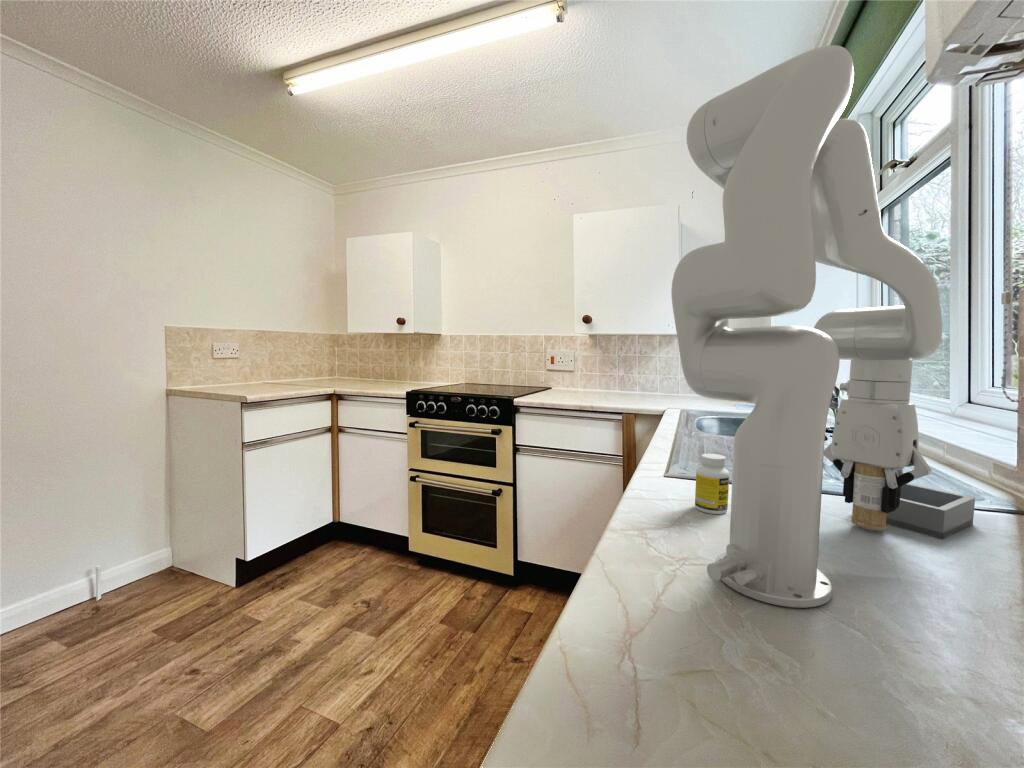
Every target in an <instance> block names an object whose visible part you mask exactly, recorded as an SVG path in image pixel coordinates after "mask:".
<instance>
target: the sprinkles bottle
mask: <svg viewBox="0 0 1024 768" xmlns="http://www.w3.org/2000/svg"><path fill="white" fill-rule="evenodd" d="M886 486H887V479H886V473H885V468H881V467H876V466H870V465H865V464H860V463H855V471H854V487H853V502H852V510H853V513H851V514H852V515H851V519H850V522H851V523H852V524H853V525H854V526H856V527H859V528H862V529H866V530H872V531H883V530H886V529H887V524H886V513H884V512H882V511H881V504H882V491H883V487H886Z"/></svg>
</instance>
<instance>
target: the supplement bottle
mask: <svg viewBox="0 0 1024 768" xmlns="http://www.w3.org/2000/svg"><path fill="white" fill-rule="evenodd" d="M726 457H727V456H724V455H723V454H718V453H703V454H701V457H700V463H701V465H699V466H698V467H697V468H696V473H695V493H694V494H695V495H694V507H695V508H696V509H697V510H698V511H700V512H703V513H705V514H711V515H722V514H726V512H728V509H729V508H728V505H729V492H730V491H729V489H730V472H729V470H728V469H726V468H725V466H726V465H727V464H726V463H727V461H726V460H727V458H726Z"/></svg>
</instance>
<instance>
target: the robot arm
mask: <svg viewBox="0 0 1024 768" xmlns="http://www.w3.org/2000/svg"><path fill="white" fill-rule="evenodd" d="M854 76H855V71H854V62H853V57H852V55H851V53H850V52H849V51H848V49H846V48H845V47H843V46H841V45H825V46H820V47H816V48H813V49H811V50H808V51H805V52H803V53H801V54H798V55H796V56H793V57H792V58H789V59H787V60H785V61H783V62H782V63H779V64H776V65H775V66H773V67H771V68H768V69H767V70H765V71H763V72H761V73H759V74H757V75H756V76H754V77H752V78H751V79H749V80H747V81H745V82H743V83H740V84H739V85H737V86H735V87H732V88H731V89H728V90H727V91H725V92H723V93H721V94H719V95H717V96H715V97H713V98H711V99H710V100H708V101H707V102H705V103H703V104H702V105H700V106H699V107H698V109H696V110H695V112H694V113H693V115H692V116H691V118H690V120H689V122H688V125H687V129H686V130H687V131H686V145H687V149H688V152H689V154H690V157H691V159H692V161H693V162H694V164H695V165H696V167H697V168H698V169H699V171H701V172H702V173H703V174H704V175H705V176H706V177H708V178H709V179H710V180H712V181H713V182H714V183H716V184H717V185H718V186H719V187H721V189H723V193H722V213H723V225H724V240H723V242H718V243H713V244H709V245H705V246H700V247H697V248H695V249H693V250H691V251H689V252H687V253H685V255H684V256H683V257H682V258H681V259H680V260H679V261H678V264H677V265H676V268H675V269H674V270H675V271H674V273H673V277H672V281H671V289H670V291H671V294H670V295H671V302H672V303H671V305H672V312H673V320H674V324H675V325H674V326H675V333H676V337H677V344H678V349H679V350H678V351H679V358H680V364H681V368H682V373H683V377H684V380H685V382H686V383H687V386H688V387H689V388H690V389H691V390H692V392H693V393H695V394H697V395H698V396H701V397H703V398H708V399H713V400H714V399H715V400H722V401H723V400H724V401H731V402H732V401H733V402H741V403H746V404H753V405H754V408H752V411H751V412H750V413H749V414H748V415H747V417H746V418H745V419H744V420H743V421H742V423H741V424H740V425H739V426H738V428H737V430H736V432H735V435H734V438H733V445H732V472H731V473H732V475H731V498H730V502H731V503H730V526H729V544H727V545H726V550H725V551H726V552H723V553H721V554H720V555H718V556H717V557H716V559H715V561H714V562H711V563H708V565H707V566H706V572H707V574H708V576H709V578H710V579H712V580H713V581H722V582H723V583H724V584H725V585H727V587H730V588H731V589H732V590H734V591H736V592H738V593H740V594H742V595H744V596H746V597H749V598H751V599H753V600H756V601H759V602H763V603H766V604H770V605H775V606H779V607H787V608H802V609H804V608H805V609H807V608H815V607H819V606H822V605H824V604H827V603H828V602H829V601H830V600H831V598H832V594H833V585H832V583H831V580H830V579H829V578H828V577H827V576H826V575H825V574H824V573H823V572H821V570H819V569H818V561H819V560H818V559H819V544H820V543H819V541H820V528H821V527H820V526H821V511H822V508H821V507H822V495H823V494H822V491H823V490H822V489H823V472H824V457H825V458H826V459H827V460H829V461H830V462H831V463H832V465H833V466H834V467H835V468H836V469H837V470H838V472H839V473H840V476H841V477H842V478H843V488H842V495H843V496H844V502H845V503H848V504H851V503H852V504H853V487H854V471H855V463H860V464H865V465H870V466H876V467H881V468H885V473H886V479H887V486H886V487H883V491H882V504H881V511H882V512H884V513H890V512H893V511H895V510H896V509H897V508H898V507H899V504H900V493H901V487H902V486H904V485H905V484H907V483H909V484H910V483H911V482H912V481H914V480H917V479H920V478H923V477H926V476H929V475H931V474H932V473H933V470H932V468H931V467H930V465H929V464H928V462H927V461H926V460H925V458H924V457H923V455H921V453H920V452H919V448H920V447H919V446H920V445H919V444H920V442H919V441H920V440H919V439H920V438H919V424H918V423H919V422H918V415H917V410H916V406H915V403H913V402H910V398H911V397H910V396H911V385H912V374H913V373H912V372H913V361H918V360H923V359H926V358H928V357H930V356H931V355H933V354H934V353H936V351H937V349H938V348H939V346H940V344H941V342H942V337H943V317H942V308H941V301H940V292H939V289H938V283H937V281H936V278H935V276H934V275H933V273H932V271H931V270H930V268H929V266H928V265H926V264H925V262H923V260H922V259H921V258H920V257H919V256H918V255H916V254H915V253H914V252H913V251H912V250H910V249H909V248H908V247H906V246H905V245H903V244H901V243H900V242H898V241H896V240H894V239H893V238H891V237H890V236H889V235H887V234H886V233H885V231H884V229H883V224H882V216H881V211H880V210H881V209H880V205H879V200H878V193H877V192H878V191H877V186H876V181H875V175H874V174H875V173H874V168H873V164H872V163H873V161H872V157H871V156H872V155H871V150H870V143H869V138H868V135H867V132H866V129H865V127H864V126H863V125H862V124H861V123H860V122H859V121H858V120H855V119H852V118H840V117H841V115H842V114H843V112H844V110H845V108H846V106H847V105H848V102H849V99H850V96H851V94H852V90H853V89H852V88H853V84H854ZM817 263H818V264H822V265H825V266H829V267H834V268H837V269H840V270H845V271H848V272H852V273H856V274H860V275H863V276H866V277H869V278H872V279H874V280H877V281H879V282H880V283H882V284H883V285H886V286H887V287H889V288H890V289H891V290H892V291H894V292H895V294H897V296H898V297H899V299H900V300H901V302H902V304H903V305H893V306H877V307H876V306H873V307H864V308H863V307H862V308H847V309H838V310H833V311H830V312H828V313H826V314H823V315H822V316H821V317H820V318H819V319H818V320H817V321H816V323H815V325H814V326H813V327H807V326H803V325H770V326H769V325H767V326H751V327H730V325H729V320H735V319H736V320H737V319H739V320H740V319H758V318H772V317H780V316H785V315H790V314H793V313H797V312H799V311H801V310H803V309H805V308H806V307H807V306H808V305H809V304H810V303H811V301H812V300H813V297H814V294H815V290H816V281H817V269H816V268H817V267H816V264H817ZM841 360H845V361H850V365H849V366H850V367H849V377H848V378H849V379H847V382H840V384H839V390H840V391H842V392H845V393H846V396H847V398H841V400H840V402H839V406H838V409H837V412H836V417H835V420H834V426H833V430H832V431H833V432H832V438H831V439H832V440H831V443H830V444H829V445H827V447H826V448H825V443H826V442H825V441H826V428H827V423H828V417H829V416H828V414H829V411H830V406H831V405H830V404H831V401H832V399H833V398H832V397H833V394H834V390H835V386H836V382H837V380H838V375H839V371H840V361H841ZM906 467H907V468H908V467H909V468H910V467H913V469H912V470H910V471H907V472H904V469H905V468H906Z"/></svg>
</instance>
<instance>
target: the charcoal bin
mask: <svg viewBox="0 0 1024 768" xmlns="http://www.w3.org/2000/svg"><path fill="white" fill-rule="evenodd" d="M975 504H976V497H975V496H969V495H965V494H960V493H955V492H950V491H946V490H941V489H937V488H932V487H928V486H927V487H926V486H922V485H918V484H914V483H913V484H912V483H910V482H909V483H907V484H905V485H904V486H902V487H901V493H900V504H899V507H898V508H897V509H896V510H895V511H893V512H890V513H886V525H890V526H894V527H897V528H901V529H904V530H908V531H911V532H914V533H918V534H921V535H925V536H929V537H933V538H936V539H939V540H945V539H947V538H948V537H950V536H952V535H954V534H957V533H959V532H961V531H963V530H964V529H966V528H969V527H971V526H973V525H974V515H975ZM852 513H853V509H852ZM852 513H851V514H852Z"/></svg>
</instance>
